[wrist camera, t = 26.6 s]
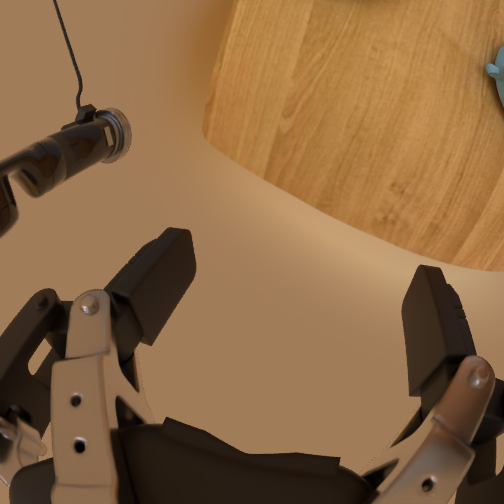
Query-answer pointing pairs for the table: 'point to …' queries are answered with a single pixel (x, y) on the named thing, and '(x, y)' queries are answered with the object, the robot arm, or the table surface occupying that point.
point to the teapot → (498, 73)
